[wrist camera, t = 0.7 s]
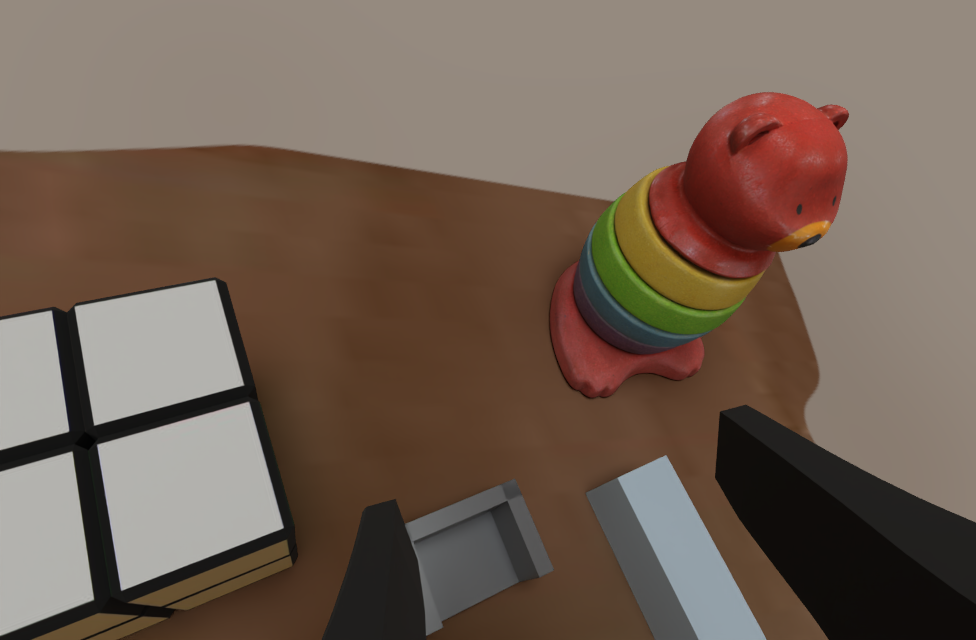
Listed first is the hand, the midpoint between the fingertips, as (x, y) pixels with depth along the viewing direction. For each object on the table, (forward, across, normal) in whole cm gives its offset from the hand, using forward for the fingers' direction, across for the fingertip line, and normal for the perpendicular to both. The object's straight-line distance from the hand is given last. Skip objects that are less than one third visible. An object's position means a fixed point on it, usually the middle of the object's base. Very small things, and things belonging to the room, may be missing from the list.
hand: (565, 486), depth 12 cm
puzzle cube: (+12, +16, +8) cm, 22 cm away
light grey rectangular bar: (+8, -6, +20) cm, 23 cm away
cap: (+10, +4, +14) cm, 18 cm away
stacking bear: (+22, -10, +12) cm, 27 cm away
